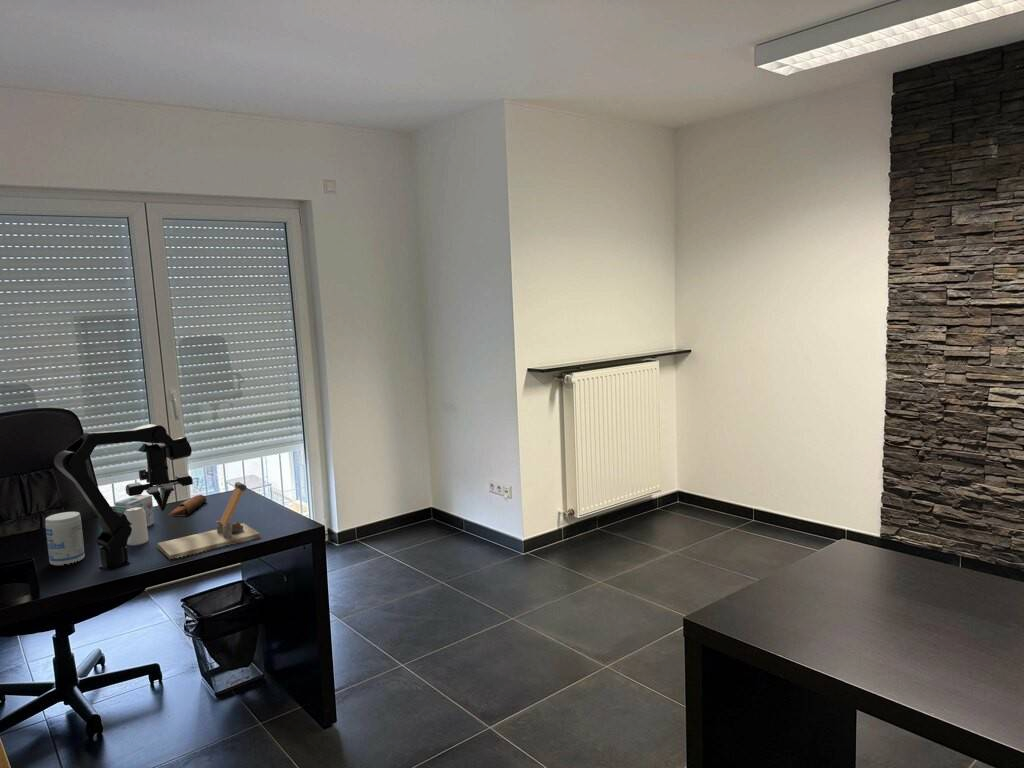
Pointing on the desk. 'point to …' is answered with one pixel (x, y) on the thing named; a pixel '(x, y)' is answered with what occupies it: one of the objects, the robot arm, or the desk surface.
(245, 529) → the board
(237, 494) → the lever
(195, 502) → the brown bread roll
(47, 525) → the supplement tub
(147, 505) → the light bulb box
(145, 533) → the can
